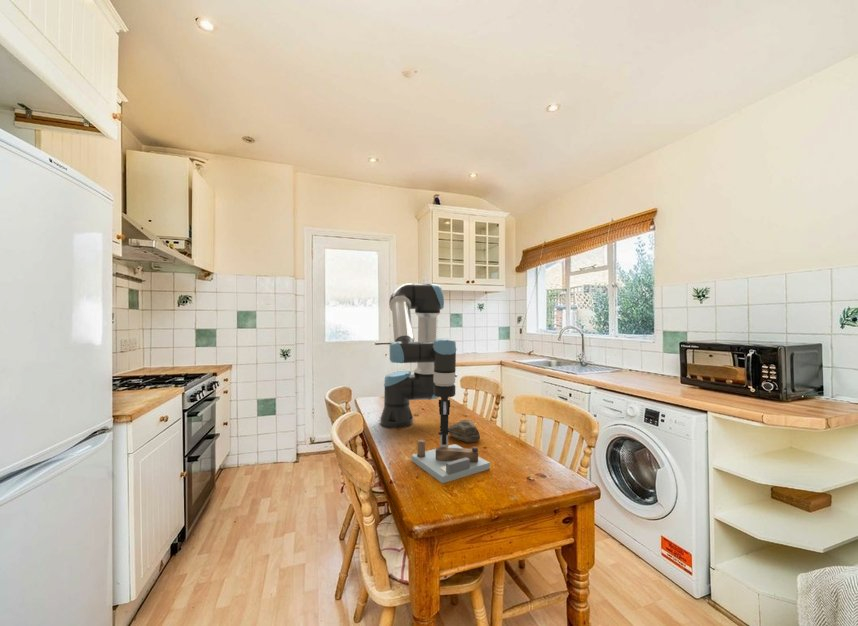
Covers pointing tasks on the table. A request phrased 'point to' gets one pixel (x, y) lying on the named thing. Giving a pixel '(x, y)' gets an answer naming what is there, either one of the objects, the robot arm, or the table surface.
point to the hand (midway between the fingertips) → (443, 452)
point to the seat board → (436, 464)
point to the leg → (456, 453)
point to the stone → (464, 431)
